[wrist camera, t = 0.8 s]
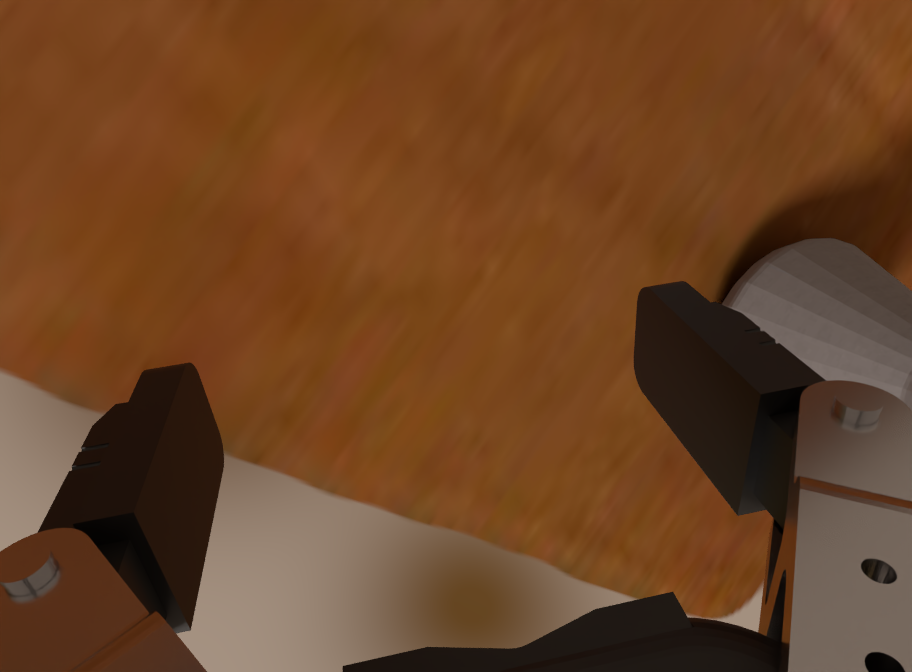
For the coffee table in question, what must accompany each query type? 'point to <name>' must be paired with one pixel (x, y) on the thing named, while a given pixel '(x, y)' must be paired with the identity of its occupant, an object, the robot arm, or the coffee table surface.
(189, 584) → the robot arm
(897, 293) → the coffee pot
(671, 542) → the coffee table surface
